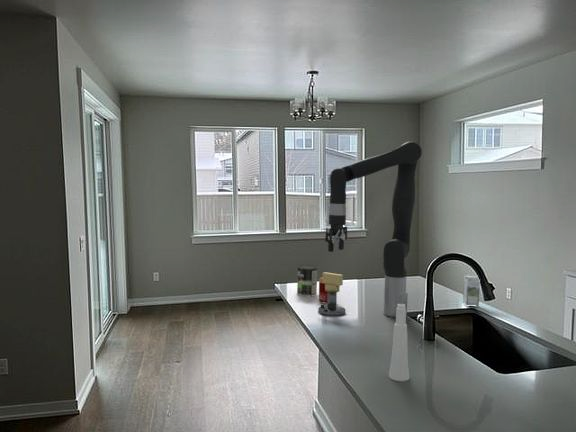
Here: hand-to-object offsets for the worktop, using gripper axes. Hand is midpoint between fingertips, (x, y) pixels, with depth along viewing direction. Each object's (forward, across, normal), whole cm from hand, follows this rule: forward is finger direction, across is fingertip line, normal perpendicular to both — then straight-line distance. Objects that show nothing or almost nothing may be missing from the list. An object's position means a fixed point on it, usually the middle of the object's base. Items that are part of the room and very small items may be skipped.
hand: (336, 250), depth 205 cm
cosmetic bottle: (+27, -47, -52) cm, 75 cm away
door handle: (+18, -1, +1) cm, 18 cm away
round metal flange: (+28, -1, 0) cm, 28 cm away
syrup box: (+27, +51, -44) cm, 73 cm away
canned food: (+28, +13, +12) cm, 33 cm away
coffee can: (+28, +19, +28) cm, 44 cm away
